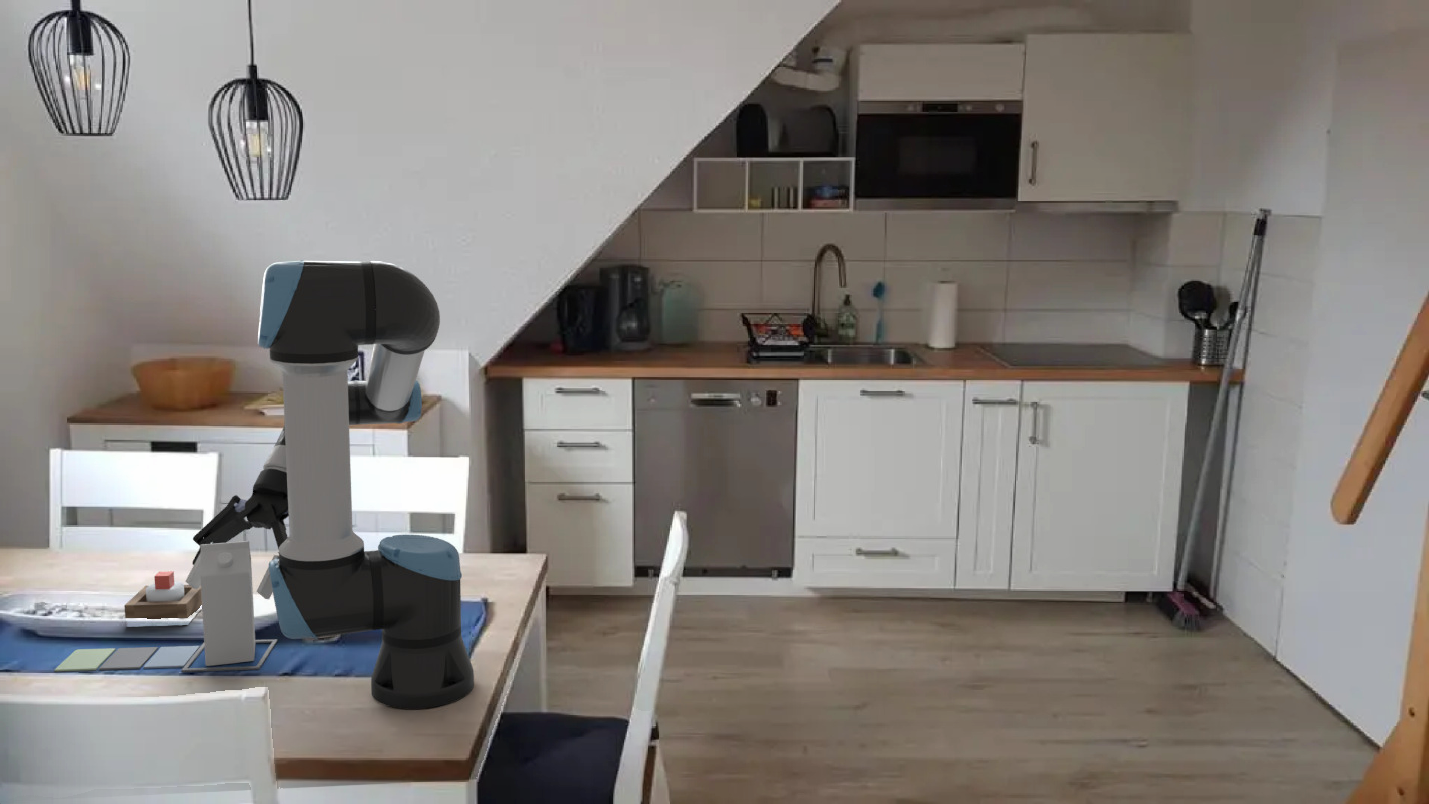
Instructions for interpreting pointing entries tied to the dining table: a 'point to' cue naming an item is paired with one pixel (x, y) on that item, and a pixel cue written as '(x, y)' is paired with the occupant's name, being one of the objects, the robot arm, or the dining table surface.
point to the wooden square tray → (164, 605)
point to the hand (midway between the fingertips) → (226, 590)
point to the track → (146, 658)
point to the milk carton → (227, 603)
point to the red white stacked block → (165, 588)
